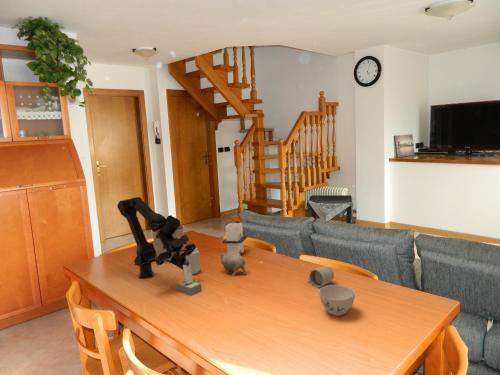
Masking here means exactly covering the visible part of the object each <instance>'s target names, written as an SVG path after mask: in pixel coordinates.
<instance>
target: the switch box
mask: <svg viewBox="0 0 500 375" xmlns="http://www.w3.org/2000/svg"><path fill="white" fill-rule="evenodd" d="M176 291H177V292H180V293H183V294H185V295H188V296H193V295H195V294H197V293H200V292H202V291H203V290H202V283H200V282H196V281H194V280H193V282H191V283H188V284H187V283H185V280H183V281H181V282H178V283H176Z"/></svg>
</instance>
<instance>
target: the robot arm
mask: <svg viewBox="0 0 500 375" xmlns="http://www.w3.org/2000/svg"><path fill="white" fill-rule="evenodd" d="M116 208H117V210H118V211H119V213H120V215H121V216H123V218H124V219H126V221H127V223H128V227H129V228H130V232H131V233H132V236H133V238H134V241H135V244H136V249H135V251H136V252H135V254H136V255H135V258H134V259H133V263H134V265H135V266H138V267H139V276H138V278H139V279H145V278H146V279H148V278H153V277H154V272H155V271H153V266H152V265H153V264H152V263H156V264H155V265H157V266H161V265H164V264H165V260H166V259H169V260H168V261H169V262H168V263H169V264H172V265H174V266H176V267H178V268H179V269H181V270H183V263H184V261H186V256H187V255H190V254H192V252H193V251H194V250H195V249H196V248H197V246H196V244H195V243H194V242H191V243H188V242H189V240H190V239H189V237H188V235H187V234H184V235H183V236H181V238H179V239H178V238H174V236H173V234H174V233H175V232H176V231H177V229H178V228H179V226H180V224H181V221H180V219H178V218H177V217H176V216H173V215H171V214H170V215H167V217H165V216H163V215H162V214H161V213H157V212H155V211H154V210H153V209H152V208H151V207H149V205H148V204H146V203H145V201H144V200H143V199H142V197H140V196H136V197H131V198H129V199H123V200H119V202H118V203H117V207H116ZM137 213H139V214H140V215H141V216H142V217H143V218H144V219H145V220H146V225H147V226H148V227H149V229H150V231H151V230H152V231H156V230H160V229H161V230H160V231H159V232H157V235H156V239H158V238H159V239H160V240H161V242H162V244H163V249H166V251H167V252H163V253H160V254H159V255H158V256H157V253H156V249H155V245H154V243H153V242H149V241H148V240H147V237H146V235H145V233H144V230H143V227H142V225H141V222H140V219H139V218H138V214H137ZM181 225H182V224H181ZM184 245H185V247H184ZM182 247H183V249H181V248H182ZM166 261H167V260H166ZM183 271H184V270H183Z"/></svg>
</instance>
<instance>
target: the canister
mask: <svg viewBox="0 0 500 375" xmlns="http://www.w3.org/2000/svg"><path fill="white" fill-rule="evenodd" d="M184 229H185V225H182V224H180V226H179V228H178V229H177V231H176V232H175V233H174V234H173V236H174V238H178V239H179V238H181V236H183V235H185V234H184ZM160 230H161V229H160ZM160 230H156V231H152V230H151V229H150V233H152V234H151V235H152V239H153V245H154V248H155V250H156V257H158V255H159V254H160V253H163V252H167V251H166V249H163V244H162V242H161V240H160V239H159V238H158V239H156V235H157V232H159V231H160ZM181 249H184V246H183V247H182V248H181ZM165 261H170V260H169V259H166V260H164V262H165Z"/></svg>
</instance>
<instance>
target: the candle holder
mask: <svg viewBox="0 0 500 375" xmlns="http://www.w3.org/2000/svg"><path fill="white" fill-rule="evenodd" d="M243 232H244V229H243V223H242V222H238V223H237V222H234V223H228V224H227V225H225V239H224V240H223V241H222V244H226V248H227V250H226V252H227V255H232V254H236V255H240V256H241V254H243V253H244V252H245V249H244V242H245V240H246V239H247V235H244V233H243Z"/></svg>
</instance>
